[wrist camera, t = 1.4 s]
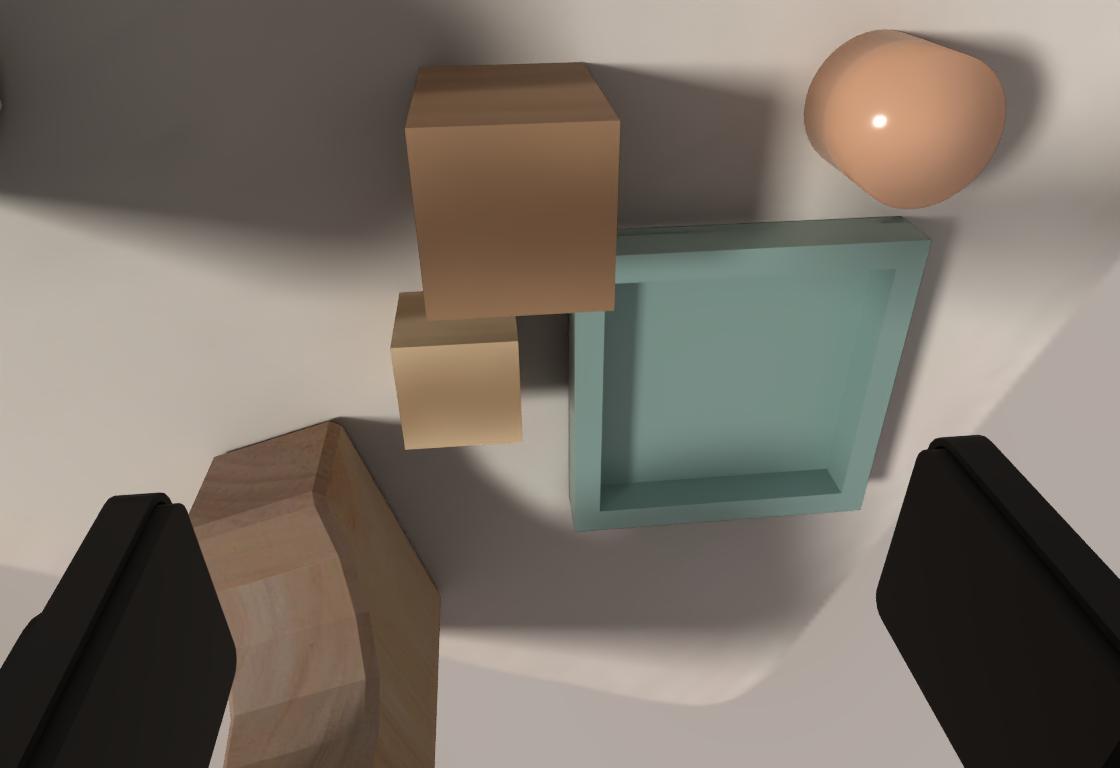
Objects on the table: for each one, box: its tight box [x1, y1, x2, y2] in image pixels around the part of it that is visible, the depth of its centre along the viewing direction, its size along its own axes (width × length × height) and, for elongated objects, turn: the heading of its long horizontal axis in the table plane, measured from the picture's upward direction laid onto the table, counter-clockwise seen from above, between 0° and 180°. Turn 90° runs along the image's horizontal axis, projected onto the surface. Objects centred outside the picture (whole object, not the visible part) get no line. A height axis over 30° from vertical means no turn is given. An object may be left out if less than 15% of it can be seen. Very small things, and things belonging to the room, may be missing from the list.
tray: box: [568, 216, 932, 532], centre depth 30 cm, size 12×12×2 cm
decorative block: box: [189, 421, 441, 768], centre depth 25 cm, size 11×6×20 cm, turn 16°
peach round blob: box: [804, 30, 1006, 209], centre depth 24 cm, size 4×4×4 cm
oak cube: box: [390, 291, 523, 450], centre depth 27 cm, size 4×4×4 cm
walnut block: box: [405, 62, 620, 321], centre depth 22 cm, size 5×5×7 cm
